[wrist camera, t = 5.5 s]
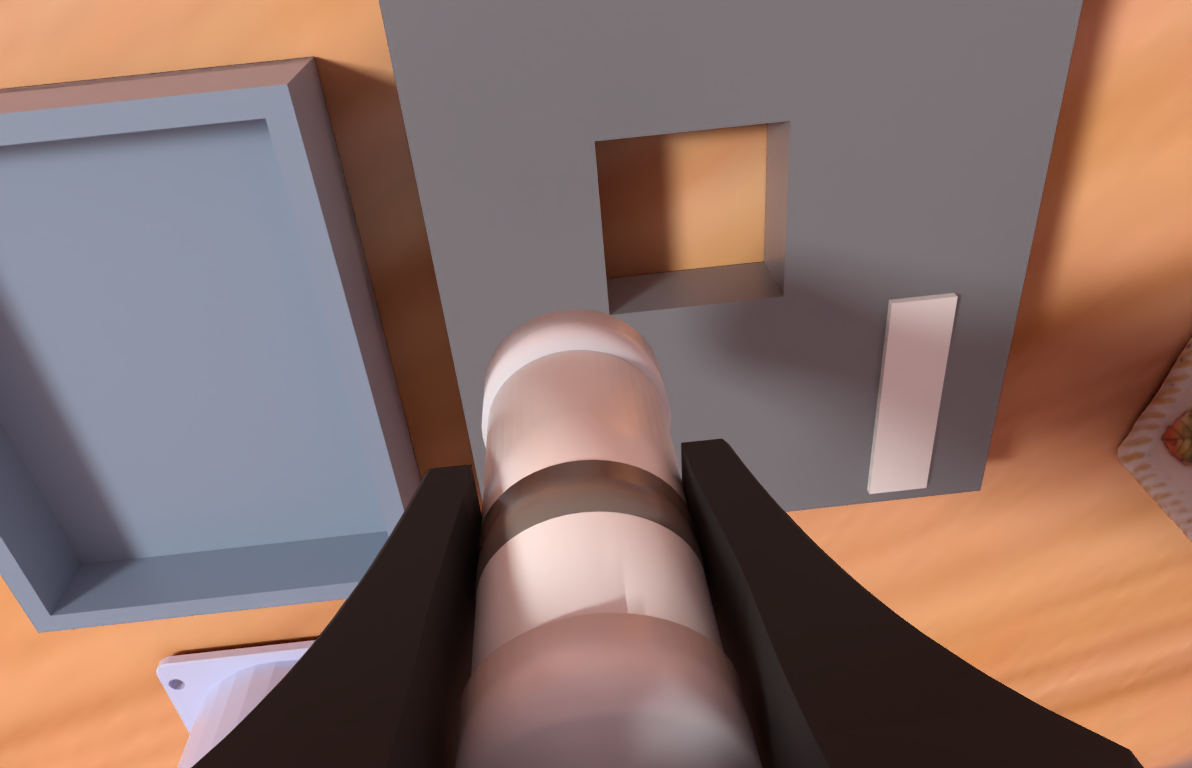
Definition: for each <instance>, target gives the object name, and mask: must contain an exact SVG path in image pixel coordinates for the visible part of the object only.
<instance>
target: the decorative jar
mask: <svg viewBox="0 0 1192 768" xmlns="http://www.w3.org/2000/svg"><path fill="white" fill-rule="evenodd" d="M1117 458H1118V460H1119V462H1120V463H1121V465H1122V466H1124V467H1125V468H1127V470H1128V471H1129V472H1130V473H1131V474H1132V475H1133V476H1134V477H1135V479H1136V480H1137V481H1138V483H1139V484H1140V485H1141V486H1142V487H1143V488H1144V489H1145V491H1146V492H1147V493H1148V494H1150V496H1151V497H1152V498H1153V499H1154V500H1155V501H1156V502H1157V503H1158V505H1159V506H1160V508H1161V509H1162V510H1163V511H1164V512H1165V513H1166V514H1167V515H1168V516H1169V517H1170V518H1171V519H1172V520H1173V521H1174V522H1175V523H1176V525H1177V526H1178V527H1179V528H1180V529H1181V530H1182V531H1183V532H1184V534H1185V535H1186V536H1187V537H1188V538H1189V539H1190V540H1191V541H1192V337H1191V338H1190V340H1189V341H1188V343H1187V345H1186V346H1185V348H1184V349H1183V351H1182V352H1181V354H1180V355H1179V357H1178V359H1177V361H1176V362H1175V364H1174V366H1173V367H1172V369H1171V371H1170V373H1169V374H1168V376H1167V377H1166V379H1165V380H1164V382H1163V384H1162V386H1161V387H1160V389H1159V391H1158V392H1157V393H1156V395H1155V397H1154V398H1153V400H1152V401H1151V402H1150V404H1149V405H1148V406H1147V408H1146V409H1145V410H1144V411H1143V413H1142V414H1141V415H1140V416H1139V418H1138V419H1137V421H1136V422H1135V424H1134V426H1133V428H1132V430H1131V432H1130V433H1129V435H1128V436H1127V437H1126V438H1125V439H1124V440H1123V442H1122V443H1121V444H1120V446H1119V447H1118V452H1117Z"/></svg>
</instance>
